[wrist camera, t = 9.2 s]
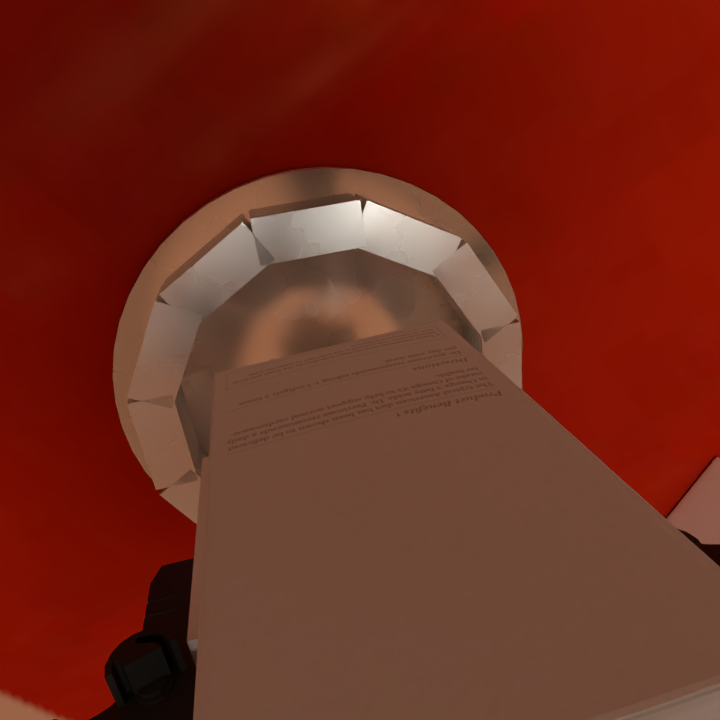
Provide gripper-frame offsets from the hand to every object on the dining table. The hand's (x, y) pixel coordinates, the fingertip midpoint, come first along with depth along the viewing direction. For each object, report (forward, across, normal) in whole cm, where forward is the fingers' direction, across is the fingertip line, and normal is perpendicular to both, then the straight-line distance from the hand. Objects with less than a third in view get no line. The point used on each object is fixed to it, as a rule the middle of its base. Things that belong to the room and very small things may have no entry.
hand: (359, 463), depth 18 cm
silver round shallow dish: (+7, 0, 0) cm, 7 cm away
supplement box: (+1, 0, 0) cm, 1 cm away
